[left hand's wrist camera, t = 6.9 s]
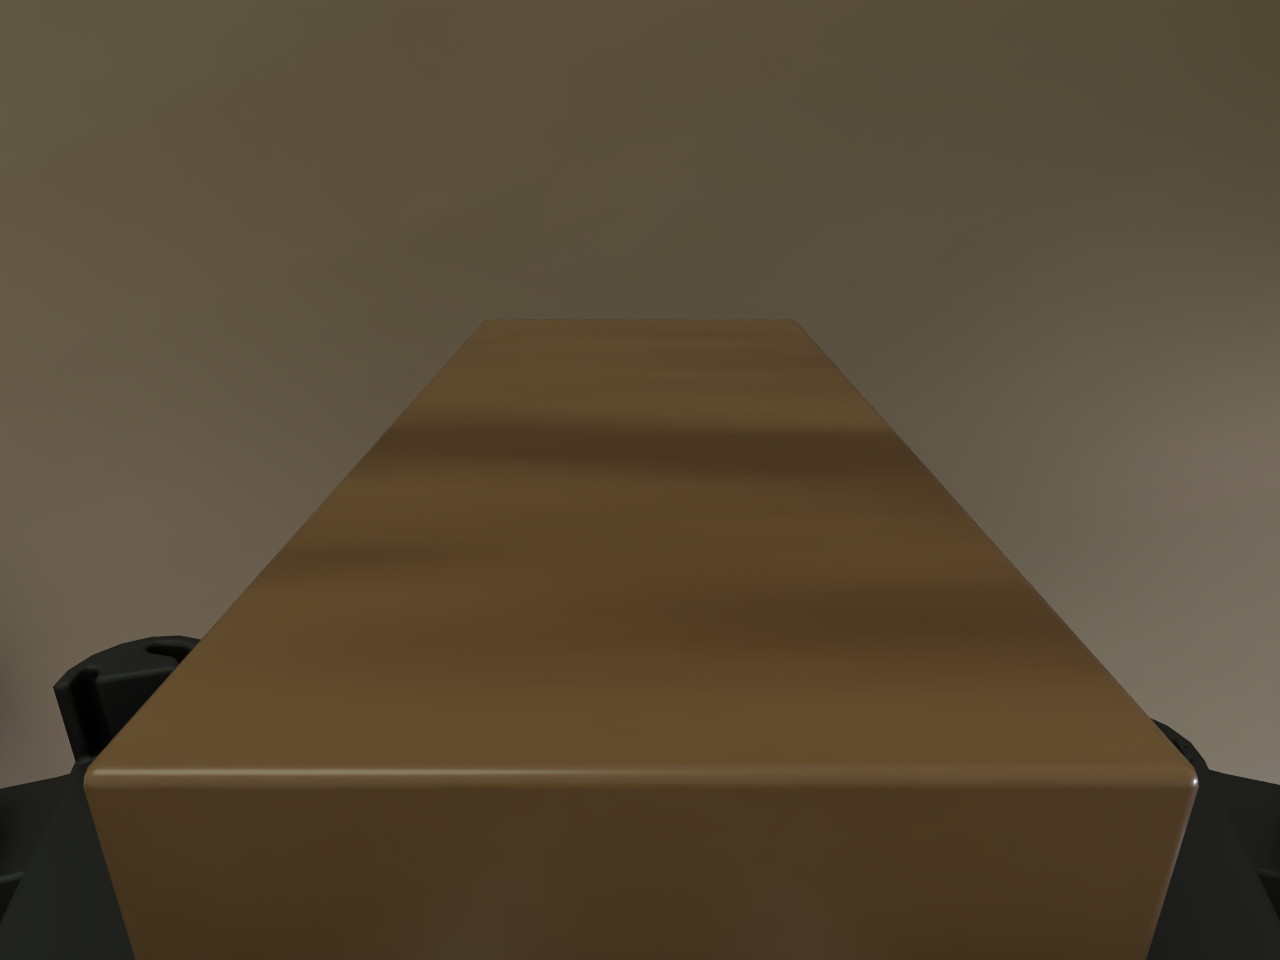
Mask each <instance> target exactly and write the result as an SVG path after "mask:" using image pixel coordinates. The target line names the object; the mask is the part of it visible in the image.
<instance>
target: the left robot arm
mask: <svg viewBox="0 0 1280 960" xmlns="http://www.w3.org/2000/svg"><path fill="white" fill-rule="evenodd" d="M200 641H201V640H200V639H195V638H190V637H184V636H160V637H149V638H145V639H140V640H136V641H131V642H127V643H123V644H120V645H117V646H115V647H112V648H109V649H107V650H104V651H102V652H99V653H97V654H94V655H92V656H90V657H89V658H87V659H86V660H84V661H82V662H81V663H79V664H77V665H76V666H74V667H73V668H71V669H69V670H68V671H67V672H66V673H65V674H64V675H63V676H62V678H61V679H60V680H59V681H58V682H57V683H56V684H55V685H54V686H53V688H54V691H55V695H56V698H57V701H58V705H59V708H60V711H61V715H62V718H63V721H64V725H65V728H66V731H67V734H68V738H69V741H70V744H71V748H72V751H73V754H74V758H75V761H76V762H75V764H74V766H73V768H72V771H71V773H70V774H67V775H63V776H60V777H56V778H51V779H46V780H41V781H36V782H31V783H26V784H21V785H17V786H12V787H7V788H2V789H0V960H135V957H134V954H133V950H132V947H131V944H130V941H129V937H128V934H127V931H126V927H125V924H124V921H123V917H122V914H121V911H120V907H119V904H118V901H117V897H116V894H115V891H114V888H113V884H112V881H111V878H110V874H109V871H108V868H107V864H106V861H105V858H104V854H103V851H102V848H101V844H100V841H99V838H98V834H97V831H96V828H95V825H94V821H93V818H92V815H91V811H90V808H89V805H88V801H87V798H86V795H85V791H84V788H83V783H84V776H85V774H86V771H87V768H88V767H89V765H90V764H91V763H92V762H93V761H94V760H95V759H96V758H97V756H98V755H99V754H100V753H101V752H102V751H103V750H104V749H105V747H106V746H107V745H108V744H109V743H110V742H111V741H112V740H113V738H114V737H115V736H116V735H117V734H118V733H119V732H120V731H121V729H122V728H123V727H124V726H125V725H126V724H127V723H128V722H129V720H130V719H131V718H132V717H133V716H134V715H135V714H136V713H137V711H138V710H139V709H140V708H141V707H142V706H143V705H144V704H145V702H146V701H147V700H148V699H149V698H150V697H151V696H152V695H153V693H154V692H155V691H156V690H157V689H158V688H159V687H160V686H161V684H162V683H163V682H164V681H165V680H166V679H167V678H168V677H169V675H170V674H171V673H172V672H173V671H174V670H175V669H176V668H177V666H178V665H179V664H180V663H181V662H182V661H183V660H184V659H185V657H186V656H187V655H188V654H189V653H190V652H191V651H192V650H193V648H194V647H195V646H196V645H197V644H198V643H199V642H200ZM1150 719H1151V718H1150ZM1151 720H1152V721H1153V722H1154V723H1155V724H1156V725H1157V727H1158V728H1159V729H1160V730H1161V731H1162V732H1163V733H1164V734H1165V735H1166V737H1167V738H1168V739H1169V740H1170V741H1171V742H1172V743H1173V744H1174V746H1175V747H1176V748H1177V749H1178V750H1179V751H1180V752H1181V753H1182V755H1183V756H1184V757H1185V758H1186V759H1187V760H1188V761H1189V762H1190V764H1191V765H1192V766H1193V767H1194V769H1195V772H1196V774H1197V778H1198V786H1199V787H1198V790H1197V794H1196V797H1195V800H1194V804H1193V807H1192V810H1191V814H1190V817H1189V820H1188V823H1187V827H1186V830H1185V833H1184V837H1183V840H1182V843H1181V847H1180V850H1179V853H1178V856H1177V860H1176V863H1175V866H1174V870H1173V873H1172V876H1171V880H1170V883H1169V886H1168V889H1167V893H1166V896H1165V899H1164V903H1163V906H1162V909H1161V913H1160V916H1159V919H1158V923H1157V926H1156V929H1155V932H1154V936H1153V939H1152V942H1151V946H1150V949H1149V952H1148V956H1147V959H1146V960H1280V785H1277V784H1272V783H1268V782H1263V781H1258V780H1253V779H1248V778H1243V777H1238V776H1233V775H1228V774H1224V773H1220V772H1216V771H1213V770H1209V769H1208V767H1207V765H1206V763H1205V760H1204V759H1203V758H1202V757H1201V755H1200V754H1199V753H1198V751H1197V750H1196V749H1195V748H1194V746H1193V745H1192V744H1191V742H1189V741H1188V740H1186V739H1185V738H1184V737H1182V736H1181V735H1180V734H1178V733H1177V732H1175V731H1174V730H1173V729H1171V728H1170V727H1168V726H1167V725H1164V724H1162V723H1160V722H1158V721H1156V720H1153V719H1151Z"/></svg>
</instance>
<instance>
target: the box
mask: <svg viewBox="0 0 1280 960" xmlns="http://www.w3.org/2000/svg"><path fill="white" fill-rule="evenodd" d="M1198 787H1199V786H1198V778H1197V774H1196V772H1195V769H1194V767H1193V766H1192V765H1191V764H1190V762H1189V761H1188V760H1187V759H1186V758H1185V757H1184V756H1183V755H1182V753H1181V752H1180V751H1179V750H1178V749H1177V748H1176V747H1175V746H1174V744H1173V743H1172V742H1171V741H1170V740H1169V739H1168V738H1167V737H1166V735H1165V734H1164V733H1163V732H1162V731H1161V730H1160V729H1159V728H1158V727H1157V725H1156V724H1155V723H1154V722H1153V721H1152V720H1151V719H1150V718H1149V716H1148V715H1147V714H1146V713H1145V712H1144V711H1143V710H1142V709H1141V707H1140V706H1139V705H1138V704H1137V703H1136V702H1135V701H1134V700H1133V698H1132V697H1131V696H1130V695H1129V694H1128V693H1127V692H1126V691H1125V690H1124V688H1123V687H1122V686H1121V685H1120V684H1119V683H1118V682H1117V681H1116V679H1115V678H1114V677H1113V676H1112V675H1111V674H1110V673H1109V672H1108V670H1107V669H1106V668H1105V667H1104V666H1103V665H1102V664H1101V663H1100V661H1099V660H1098V659H1097V658H1096V657H1095V656H1094V655H1093V654H1092V653H1091V651H1090V650H1089V649H1088V648H1087V647H1086V646H1085V645H1084V644H1083V642H1082V641H1081V640H1080V639H1079V638H1078V637H1077V636H1076V635H1075V633H1074V632H1073V631H1072V630H1071V629H1070V628H1069V627H1068V626H1067V624H1066V623H1065V622H1064V621H1063V620H1062V619H1061V618H1060V617H1059V616H1058V614H1057V613H1056V612H1055V611H1054V610H1053V609H1052V608H1051V607H1050V605H1049V604H1048V603H1047V602H1046V601H1045V600H1044V599H1043V598H1042V596H1041V595H1040V594H1039V593H1038V592H1037V591H1036V590H1035V589H1034V587H1033V586H1032V585H1031V584H1030V583H1029V582H1028V581H1027V580H1026V579H1025V577H1024V576H1023V575H1022V574H1021V573H1020V572H1019V571H1018V570H1017V568H1016V567H1015V566H1014V565H1013V564H1012V563H1011V562H1010V561H1009V559H1008V558H1007V557H1006V556H1005V555H1004V554H1003V553H1002V552H1001V550H1000V549H999V548H998V547H997V546H996V545H995V544H994V543H993V542H992V540H991V539H990V538H989V537H988V536H987V535H986V534H985V533H984V531H983V530H982V529H981V528H980V527H979V526H978V525H977V524H976V522H975V521H974V520H973V519H972V518H971V517H970V516H969V515H968V513H967V512H966V511H965V510H964V509H963V508H962V507H961V506H960V505H959V503H958V502H957V501H956V500H955V499H954V498H953V497H952V496H951V494H950V493H949V492H948V491H947V490H946V489H945V488H944V487H943V485H942V484H941V483H940V482H939V481H938V480H937V479H936V478H935V476H934V475H933V474H932V473H931V472H930V471H929V470H928V469H927V468H926V466H925V465H924V464H923V463H922V462H921V461H920V460H919V459H918V457H917V456H916V455H915V454H914V453H913V452H912V451H911V450H910V448H909V447H908V446H907V445H906V444H905V443H904V442H903V441H902V439H901V438H900V437H899V436H898V435H897V434H896V433H895V432H894V431H893V429H892V428H891V427H890V426H889V425H888V424H887V423H886V422H885V420H884V419H883V418H882V417H881V416H880V415H879V414H878V413H877V411H876V410H875V409H874V408H873V407H872V406H871V405H870V404H869V402H868V401H867V400H866V399H865V398H864V397H863V396H862V395H861V394H860V392H859V391H858V390H857V389H856V388H855V387H854V386H853V385H852V383H851V382H850V381H849V380H848V379H847V378H846V377H845V376H844V374H843V373H842V372H841V371H840V370H839V369H838V368H837V367H836V365H835V364H834V363H833V362H832V361H831V360H830V359H829V358H828V357H827V355H826V354H825V353H824V352H823V351H822V350H821V349H820V348H819V346H818V345H817V344H816V343H815V342H814V341H813V340H812V339H811V337H810V336H809V335H808V334H807V333H806V332H805V331H804V330H803V328H802V327H801V326H800V325H799V324H798V323H797V322H796V321H794V320H486V321H484V322H483V323H482V324H481V325H480V327H479V328H478V329H477V330H476V331H475V332H474V333H473V334H472V336H471V337H470V338H469V339H468V340H467V341H466V342H465V343H464V345H463V346H462V347H461V348H460V349H459V350H458V351H457V352H456V354H455V355H454V356H453V357H452V358H451V359H450V360H449V361H448V363H447V364H446V365H445V366H444V367H443V368H442V369H441V370H440V372H439V373H438V374H437V375H436V376H435V377H434V378H433V379H432V381H431V382H430V383H429V384H428V385H427V386H426V387H425V389H424V390H423V391H422V392H421V393H420V394H419V395H418V396H417V398H416V399H415V400H414V401H413V402H412V403H411V404H410V405H409V407H408V408H407V409H406V410H405V411H404V412H403V413H402V414H401V416H400V417H399V418H398V419H397V420H396V421H395V422H394V423H393V425H392V426H391V427H390V428H389V429H388V430H387V431H386V432H385V434H384V435H383V436H382V437H381V438H380V439H379V440H378V441H377V443H376V444H375V445H374V446H373V447H372V448H371V449H370V450H369V452H368V453H367V454H366V455H365V456H364V457H363V458H362V459H361V461H360V462H359V463H358V464H357V465H356V466H355V467H354V468H353V470H352V471H351V472H350V473H349V474H348V475H347V476H346V477H345V479H344V480H343V481H342V482H341V483H340V484H339V485H338V486H337V488H336V489H335V490H334V491H333V492H332V493H331V494H330V495H329V497H328V498H327V499H326V500H325V501H324V502H323V503H322V504H321V506H320V507H319V508H318V509H317V510H316V511H315V512H314V513H313V515H312V516H311V517H310V518H309V519H308V520H307V521H306V522H305V524H304V525H303V526H302V527H301V528H300V529H299V530H298V531H297V533H296V534H295V535H294V536H293V537H292V538H291V539H290V540H289V542H288V543H287V544H286V545H285V546H284V547H283V548H282V549H281V551H280V552H279V553H278V554H277V555H276V556H275V557H274V558H273V560H272V561H271V562H270V563H269V564H268V565H267V566H266V567H265V569H264V570H263V571H262V572H261V573H260V574H259V575H258V576H257V578H256V579H255V580H254V581H253V582H252V583H251V584H250V585H249V587H248V588H247V589H246V590H245V591H244V592H243V593H242V594H241V596H240V597H239V598H238V599H237V600H236V601H235V602H234V603H233V605H232V606H231V607H230V608H229V609H228V610H227V611H226V612H225V614H224V615H223V616H222V617H221V618H220V619H219V620H218V621H217V623H216V624H215V625H214V626H213V627H212V628H211V629H210V630H209V632H208V633H207V634H206V635H205V636H204V637H203V638H202V639H201V641H200V642H199V643H198V644H197V645H196V646H195V647H194V648H193V650H192V651H191V652H190V653H189V654H188V655H187V656H186V657H185V659H184V660H183V661H182V662H181V663H180V664H179V665H178V666H177V668H176V669H175V670H174V671H173V672H172V673H171V674H170V675H169V677H168V678H167V679H166V680H165V681H164V682H163V683H162V684H161V686H160V687H159V688H158V689H157V690H156V691H155V692H154V693H153V695H152V696H151V697H150V698H149V699H148V700H147V701H146V702H145V704H144V705H143V706H142V707H141V708H140V709H139V710H138V711H137V713H136V714H135V715H134V716H133V717H132V718H131V719H130V720H129V722H128V723H127V724H126V725H125V726H124V727H123V728H122V729H121V731H120V732H119V733H118V734H117V735H116V736H115V737H114V738H113V740H112V741H111V742H110V743H109V744H108V745H107V746H106V747H105V749H104V750H103V751H102V752H101V753H100V754H99V755H98V756H97V758H96V759H95V760H94V761H93V762H92V763H91V764H90V765H89V767H88V768H87V771H86V774H85V776H84V783H83V788H84V791H85V795H86V798H87V801H88V805H89V808H90V811H91V815H92V818H93V821H94V825H95V828H96V831H97V834H98V838H99V841H100V844H101V848H102V851H103V854H104V858H105V861H106V864H107V868H108V871H109V874H110V878H111V881H112V884H113V888H114V891H115V894H116V897H117V901H118V904H119V907H120V911H121V914H122V917H123V921H124V924H125V927H126V931H127V934H128V937H129V941H130V944H131V947H132V950H133V954H134V957H135V960H1146V959H1147V956H1148V952H1149V949H1150V946H1151V942H1152V939H1153V936H1154V932H1155V929H1156V926H1157V923H1158V919H1159V916H1160V913H1161V909H1162V906H1163V903H1164V899H1165V896H1166V893H1167V889H1168V886H1169V883H1170V880H1171V876H1172V873H1173V870H1174V866H1175V863H1176V860H1177V856H1178V853H1179V850H1180V847H1181V843H1182V840H1183V837H1184V833H1185V830H1186V827H1187V823H1188V820H1189V817H1190V814H1191V810H1192V807H1193V804H1194V800H1195V797H1196V794H1197V790H1198Z"/></svg>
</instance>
